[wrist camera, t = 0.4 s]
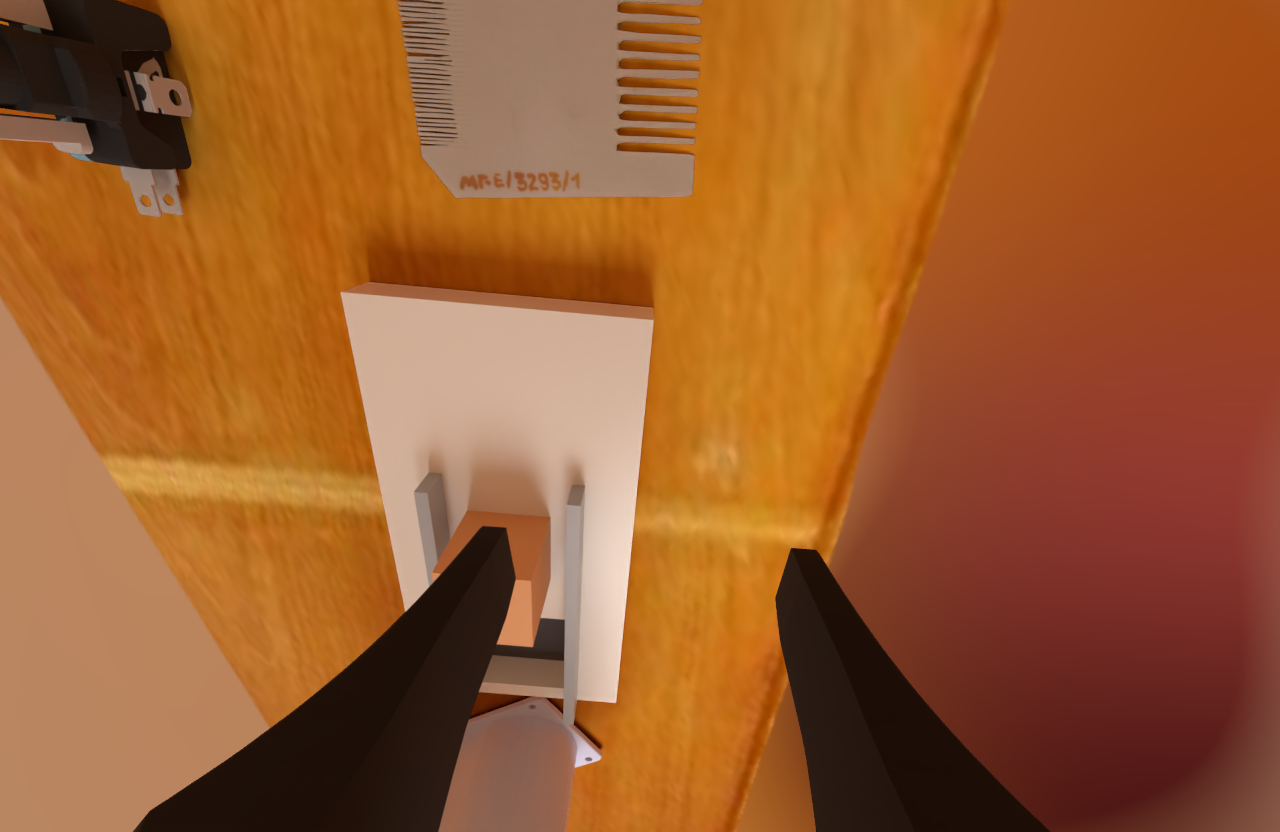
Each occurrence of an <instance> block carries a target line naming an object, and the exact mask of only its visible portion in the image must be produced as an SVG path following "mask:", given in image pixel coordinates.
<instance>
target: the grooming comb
mask: <svg viewBox="0 0 1280 832" xmlns="http://www.w3.org/2000/svg"><path fill="white" fill-rule="evenodd" d="M410 1H421V2H398V1H397V3H398V5H399V6H402V7H398V9H399V10H402V11H411V12H421V13H410V12H399V15H401V16H405V17H401V21H409V22H423V23H431V24H402V25H404V26H410V27H418V28H402V31H404V32H402V34H403V35H405V36H418V37H426V38H435V39H441V40H435V39H415V38H403V40H404V41H405V42H414V43H427V44H404V46H406V47H413V48H405V51H406V52H410V53H420V54H432V55H442V56H443V57H418V56H407V62H409V63H407V66H408V67H411V68H422V69H409V71H410V72H415V73H429V74H440V75H451V76H436V75H423V74H409V73H408V74H409V76H410V77H418V78H431V79H440V80H428V79H412V78H410V82H417V83H432V84H446V85H427V84H410V85H411V87H414V88H429V89H440V90H428V89H411V91H412V92H420V93H433V94H412V96H413V97H417V98H430V99H415V98H412V99H413V101H416V102H429V103H442V104H415V105H417V106H422V107H434V108H445V109H453V110H445V109H433V108H422V107H415V111H418V112H430V113H415V115H416V117H434V118H449V119H455V120H445V119H421V118H416V121H421V122H436V123H417V124H416V125H419V126H429V127H418V130H417V131H434V132H444V133H453V134H443V133H427V132H418V135H419V136H433V137H453V138H432V137H420V139H423V140H435V141H421V143H424V144H436V146H423V145H420V146H421V154H422V158H423V159H424V160H425V161H426V162H427V164H428V165H429V166H430V167H431V169H432V170H433V171H434V172H435V173H436V175H437V176H438V177H439V178H440V180H441V181H442V182H443V183H444V184H445V186H446V187H447V188H448V189H449V191H450V192H451V193H452V194H453V195H454V197H455V198H531V197H681V196H692V190H693V181H694V155H690V154H675V153H653V152H630V151H621V150H618V147H617V145H618V144H621V143H625V142H633V143H658V144H694V143H695V139H692V138H669V137H651V136H619V134H618V133H617V131H618V129H619V128H637V127H642V128H683V129H693V128H695V127H696V123H683V122H659V121H629V120H621V119H620V117H619V115H620V114H621V113H623V112H624V111H640V112H668V113H696V112H697V107H687V106H658V105H635V104H622V103H621V102H620V99H621V96H622V95H623V94H629V95H655V96H686V97H698V91H697V90H691V89H670V88H639V87H622V86H619V84H618V79H620V78H622V77H636V78H668V79H678V78H698V77H699V71H689V70H651V69H622V68H620V67H619V62H620V61H621V60H622V59H624V58H639V59H645V60H678V61H694V60H700V57H699V55H695V54H676V53H658V52H639V51H625V50H620V46H619V44H620V43H621V42H622V41H648V42H675V43H699V42H700V41H701V37H698V36H686V35H670V34H649V33H636V32H628V31H620V30H619V23H622V22H645V23H680V24H700V22H701V20H700V18H698V17H683V16H668V15H656V14H629V13H621V12H619V11H618V5H619V4H621V3H622V2H631V3H654V4H679V5H701V3H702V1H703V0H410ZM422 2H431V3H422ZM432 3H439V4H432ZM409 7H415V8H409ZM422 8H432V9H422ZM427 13H431V14H427ZM409 17H411V18H409ZM421 28H429V29H421ZM435 29H439V30H435ZM407 32H418V33H407ZM421 33H434V34H421ZM441 34H450V35H441ZM433 44H440V45H433ZM415 48H427V49H415ZM430 49H434V50H430ZM427 60H430V61H427ZM447 61H452V62H447ZM410 63H421V64H410ZM433 64H440V65H433ZM445 65H450V66H445ZM425 69H434V70H425ZM441 70H443V71H441ZM451 85H453V86H451ZM431 99H442V100H431ZM445 104H452V105H445ZM442 113H447V114H442ZM455 114H456V115H455ZM438 123H452V124H438ZM432 127H444V128H432ZM451 128H456V129H451Z"/></svg>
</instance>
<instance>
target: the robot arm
mask: <svg viewBox="0 0 1280 832" xmlns="http://www.w3.org/2000/svg"><path fill="white" fill-rule="evenodd" d="M515 581H516V576H515V570H514V565H513V560H512V555H511V549H510V544H509V539H508V534H507V528H505V527H492V526H482V527H481V528H480V529H479V530H478V531H477V532H476V533H475V535H474V536H473V537H472V538H471V539H470V541H469V542H468V543H467V544H466V545H465V547H464V548H463V549H462V550H461V551H460V553H459V554H458V555H457V556H456V557H455V558H454V560H453V561H452V562H451V563H450V564H449V565H448V566H447V568H446V569H445V570H444V571H443V572H442V573H441V574H440V575H439V577H438V578H437V579H436V580H435V581H434V582H433V583H432V584H431V585H430V586H429V588H428V589H427V590H426V591H425V592H424V593H423V594H422V595H421V596H420V597H419V598H418V599H417V601H416V602H415V603H414V604H413V605H412V606H411V607H410V608H409V609H408V610H407V611H406V612H405V613H404V614H403V615H402V616H401V617H400V618H399V619H398V620H397V621H396V622H395V623H394V624H393V625H392V626H391V627H390V628H389V629H388V630H387V631H386V632H385V633H384V634H383V635H382V636H381V637H380V638H378V639H377V640H376V641H375V642H374V643H373V644H372V645H371V646H370V647H369V648H368V649H367V650H366V651H365V652H363V653H362V654H361V655H360V656H359V657H358V658H357V659H356V660H354V661H353V662H352V663H351V664H350V665H349V666H348V667H347V668H345V669H344V670H343V671H342V672H341V673H340V674H338V675H337V676H336V677H335V678H333V679H332V680H331V681H330V682H329V683H327V684H326V685H325V686H324V687H323V688H321V689H320V690H319V691H318V692H317V693H315V694H314V695H313V696H312V697H311V698H309V699H308V700H307V701H305V702H304V703H303V704H302V705H300V706H299V707H298V708H297V709H295V710H294V711H293V712H291V713H290V714H289V715H287V716H286V717H285V718H283V719H282V720H281V721H279V722H278V723H277V724H275V725H274V726H273V727H271V728H270V729H269V730H267V731H266V732H264V733H263V734H262V735H260V736H259V737H258V738H256V739H255V740H254V741H252V742H251V743H250V744H248V745H247V746H246V747H244V748H243V749H241V750H240V751H239V752H237V753H236V754H234V755H233V756H232V757H230V758H229V759H227V760H226V761H224V762H223V763H221V764H220V765H218V766H217V767H216V768H214V769H213V770H211V771H210V772H208V773H207V774H205V775H204V776H202V777H200V778H199V779H198V780H196V781H194V782H193V783H191V784H190V785H188V786H187V787H185V788H184V789H183V790H181V791H179V792H178V793H176V794H175V795H173V796H172V797H170V798H169V799H168V800H166V801H164V802H163V803H161V804H160V805H158V806H157V807H155V808H154V809H152V810H150V811H149V813H148V814H147V815H146V816H145V817H144V819H143V820H142V821H141V822H140V824H139V825H138V826H137V827H136V829H135V830H134V831H133V832H566V829H567V821H568V814H569V806H570V799H571V792H572V784H573V777H574V770H575V767H579V766H582V765H585V764H589V763H592V762H595V761H598V760H600V759H601V756H602V752H601V750H600V749H599V748H598V747H597V746H596V745H595V744H594V743H593V742H591V741H590V740H589V739H588V738H587V737H586V736H585V735H584V734H583V733H582V732H581V731H580V730H579V729H578V728H577V727H576V726H575V725H564V724H563V714H562V713H561V712H560V711H559V710H558V709H557V708H556V707H555V706H554V705H553V704H552V703H551V702H549V701H548V700H547V699H546V698H545V697H535V696H533V697H530V698H527V699H524V700H521V701H519V702H516V703H513V704H510V705H508V706H505V707H502V708H499V709H496V710H494V711H491V712H488V713H485V714H483V715H480V716H477V717H474V718H471V719H469V718H470V715H471V712H472V709H473V706H474V703H475V701H476V698H477V695H478V693H479V690H480V687H481V685H482V682H483V679H484V677H485V674H486V671H487V669H488V666H489V663H490V661H491V658H492V655H493V653H494V650H495V647H496V644H497V642H498V639H499V636H500V634H501V631H502V628H503V625H504V623H505V620H506V617H507V613H508V609H509V605H510V601H511V597H512V593H513V589H514V585H515ZM775 599H776V609H777V618H778V627H779V635H780V642H781V646H782V651H783V655H784V660H785V664H786V669H787V673H788V677H789V682H790V686H791V690H792V694H793V699H794V703H795V707H796V712H797V716H798V721H799V725H800V729H801V733H802V738H803V744H804V748H805V754H806V759H807V767H808V774H809V780H810V788H811V795H812V802H813V809H814V817H815V825H816V832H1050V831H1049V830H1048V829H1047V828H1046V827H1045V826H1044V825H1043V824H1042V823H1041V822H1040V821H1039V820H1038V819H1036V818H1035V817H1034V816H1033V815H1032V814H1031V813H1030V812H1029V811H1028V810H1027V809H1026V808H1025V807H1024V806H1022V804H1021V803H1020V802H1019V801H1018V800H1017V799H1016V798H1015V797H1014V796H1013V795H1012V794H1011V793H1010V792H1009V791H1008V790H1007V789H1006V788H1005V787H1004V786H1003V785H1002V784H1001V783H1000V782H999V781H998V780H997V779H996V778H995V777H994V776H993V775H992V774H991V773H990V772H989V771H988V770H987V769H986V768H985V767H984V766H983V765H982V764H981V763H980V762H979V761H978V760H977V759H976V758H975V757H974V756H973V755H972V754H971V752H969V750H968V749H967V748H966V747H965V746H964V745H963V744H962V743H961V742H960V740H959V739H958V738H957V737H956V736H955V735H954V734H953V733H952V732H951V731H950V730H949V728H948V727H947V726H946V725H945V724H944V723H943V722H942V721H941V719H940V718H939V717H938V716H937V715H936V714H935V713H934V711H933V710H932V709H931V708H930V707H929V706H928V705H927V703H926V702H925V701H924V700H923V699H922V697H921V696H920V695H919V694H918V693H917V691H916V690H915V689H914V688H913V687H912V685H911V684H910V683H909V682H908V680H907V679H906V678H905V677H904V675H903V674H902V673H901V671H900V670H899V669H898V668H897V666H896V665H895V664H894V662H893V661H892V660H891V659H890V657H889V656H888V655H887V653H886V652H885V651H884V650H883V648H882V647H881V645H880V644H879V642H878V641H877V640H876V638H875V637H874V636H873V634H872V633H871V631H870V630H869V628H868V627H867V626H866V624H865V623H864V621H863V620H862V619H861V617H860V616H859V614H858V613H857V612H856V610H855V608H854V607H853V606H852V604H851V603H850V601H849V600H848V598H847V597H846V595H845V594H844V592H843V591H842V589H841V587H840V586H839V584H838V583H837V581H836V580H835V578H834V576H833V575H832V573H831V572H830V570H829V568H828V567H827V565H826V564H825V562H824V560H823V559H822V557H821V556H820V554H819V553H818V552H817V550H810V549H797V548H791V550H790V553H789V557H788V560H787V563H786V566H785V569H784V572H783V576H782V579H781V582H780V585H779V588H778V591H777V595H776V598H775Z"/></svg>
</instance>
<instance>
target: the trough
mask: <svg viewBox="0 0 1280 832" xmlns="http://www.w3.org/2000/svg"><path fill="white" fill-rule="evenodd" d="M341 297H342V302H343V307H344V312H345V317H346V322H347V327H348V332H349V337H350V342H351V347H352V352H353V356H354V361H355V366H356V371H357V376H358V381H359V386H360V391H361V396H362V401H363V406H364V411H365V416H366V421H367V426H368V430H369V435H370V440H371V445H372V450H373V455H374V460H375V465H376V470H377V475H378V480H379V485H380V490H381V495H382V500H383V504H384V509H385V514H386V519H387V524H388V529H389V534H390V539H391V544H392V549H393V554H394V559H395V564H396V569H397V573H398V578H399V583H400V588H401V593H402V598H403V603H404V608H405V612H406V611H407V610H408V609H409V608H410V607H411V606H412V605H413V604H414V603H415V602H416V601H417V599H418V598H419V597H420V596H421V595H422V594H423V593H424V592H425V591H426V590H427V589H428V588H429V586H430V585H431V584H432V583H433V578H432V571H433V570H434V568H435V566H436V564H437V563H438V561H439V559H440V557H441V556H442V554H443V552H444V550H445V548H446V547H447V545H448V543H449V541H450V540H451V538H452V536H453V534H454V533H455V531H456V529H457V527H458V526H459V524H460V522H461V520H462V518H463V517H464V515H465V513H466V511H467V510H470V511H482V512H494V513H505V514H517V515H529V516H541V517H551V580H550V584H549V587H548V591H547V595H546V599H545V603H544V607H543V610H542V614H541V618H540V622H539V626H538V630H537V634H536V637H535V641H534V645H533V647H525V646H513V645H500V644H496V647H495V650H494V653H493V655H492V658H491V661H490V663H489V666H488V669H487V671H486V674H485V677H484V679H483V682H482V685H481V687H480V690H479V692H484V693H497V694H509V695H522V696H535V697H547V698H560V699H564V708H563V724H564V725H574V718H575V711H576V705H577V700H585V701H598V702H610V703H616V699H617V689H618V679H619V669H620V659H621V649H622V639H623V628H624V618H625V608H626V598H627V588H628V578H629V567H630V557H631V547H632V537H633V527H634V517H635V506H636V496H637V486H638V476H639V466H640V456H641V445H642V435H643V425H644V415H645V405H646V395H647V384H648V374H649V364H650V354H651V344H652V334H653V323H654V308H653V307H642V306H631V305H620V304H609V303H598V302H587V301H576V300H565V299H554V298H542V297H531V296H520V295H509V294H498V293H487V292H476V291H465V290H454V289H443V288H431V287H420V286H409V285H398V284H387V283H376V282H367V283H364V284H362V285H359V286H356V287H353V288H350V289H348V290H345V291H342V292H341Z"/></svg>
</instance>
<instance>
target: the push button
mask: <svg viewBox="0 0 1280 832" xmlns="http://www.w3.org/2000/svg"><path fill="white" fill-rule="evenodd" d="M0 21H4V22H8V23H9V26H7V25H3V24H0V108H5V109H12V110H18V111H25V112H33V113H42V114H52V115H55V117H56V119H57V120H56V119H50V118H40V117H30V116H20V115H10V114H0V139H2V140H18V141H35V142H51V143H52V144H53V145H54V147H56V148H57V149H58V150H60V151H62V152H68V153H69V154H70V155H71V156H73V157H74V158H76V159H79V160H85V161H91V162H98V163H105V164H111V165H118V166H120V170H121V173H122V176H123V179H124V181H128V182H129V185H130V188H131V191H132V194H133V197H134V200H135V203H136V207H137V210H138V212H139V213H140V214H142V215H149V216H156V217H160V216H161V215H162V213H161V210H162V211H163V212H164V213H169V214H176V215H183V213H184V212H183V208H182V205H181V201H180V198H179V194H178V190H177V187H176V185H180V184H179V180H178V176H177V173H176V169H188V168H189V167H190V166H191V158H190V154H189V150H188V146H187V143H186V139H185V135H184V131H183V127H182V123H181V120H180V116H184V117H190V116H191V114H192V113H193V112H192V108H191V104H190V100H189V96H188V92H187V88H186V87H185V85H184V84H183V83H182V82H181V81H178V80H173V79H170V77H169V73H168V70H167V66H166V62H165V58H164V54H163V51H168V50H169V49H170V47H171V41H170V37H169V33H168V29H167V26H166V24H165V22H164V21H163V19H162V18H161V17H160V16H159V15H157V14H155V13H152V12H149V11H146V10H143V9H140V8H137V7H134V6H131V5H128V4H125V3H122V2H119V1H116V0H0ZM173 90H175V91H176V92H177V93H178V95H179V97H180V105H178V106H177V104H176V100H175V96H174V93H173ZM153 185H154V187H153ZM154 188H155V190H154ZM155 191H156V193H155ZM156 194H157V197H156ZM166 194H168V195H170V196H171V197H172V198H173V200H174V204H173V205H172V206H171V205H169V204H167V202H166V201H165V199H164V196H165V195H166ZM142 195H145V196H147V197H148V198H149V199H150V201H151V206H150V207H147V206H146V205H144V204H143V202H142V200H141V197H142ZM157 198H158V200H157ZM158 201H159V203H158ZM159 204H160V207H159ZM160 208H161V210H160Z"/></svg>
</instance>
